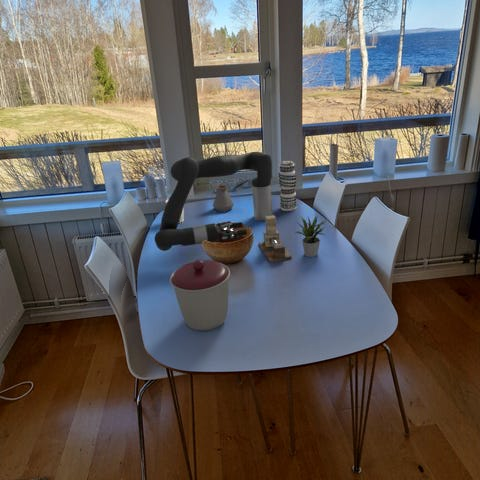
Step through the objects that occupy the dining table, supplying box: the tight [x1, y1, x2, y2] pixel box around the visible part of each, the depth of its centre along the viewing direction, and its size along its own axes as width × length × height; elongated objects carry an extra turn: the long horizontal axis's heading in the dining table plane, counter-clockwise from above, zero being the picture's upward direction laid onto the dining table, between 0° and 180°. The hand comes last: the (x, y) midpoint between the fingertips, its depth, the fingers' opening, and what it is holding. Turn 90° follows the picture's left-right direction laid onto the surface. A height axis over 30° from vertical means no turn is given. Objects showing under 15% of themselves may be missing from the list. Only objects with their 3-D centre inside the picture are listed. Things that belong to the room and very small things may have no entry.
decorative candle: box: [277, 160, 298, 212], centre depth 210 cm, size 9×9×25 cm
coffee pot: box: [212, 179, 250, 212], centre depth 220 cm, size 21×12×15 cm, turn 97°
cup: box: [165, 198, 185, 224], centre depth 208 cm, size 9×9×12 cm
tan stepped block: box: [263, 214, 280, 247], centre depth 168 cm, size 3×6×13 cm, turn 102°
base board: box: [258, 238, 293, 263], centre depth 167 cm, size 18×9×6 cm, turn 12°
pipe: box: [270, 237, 279, 246], centre depth 167 cm, size 16×2×2 cm, turn 12°
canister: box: [169, 259, 231, 332], centre depth 123 cm, size 18×18×21 cm
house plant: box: [294, 215, 330, 258], centre depth 159 cm, size 14×14×16 cm
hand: (244, 228), depth 165 cm, fingers open, 8 cm apart
